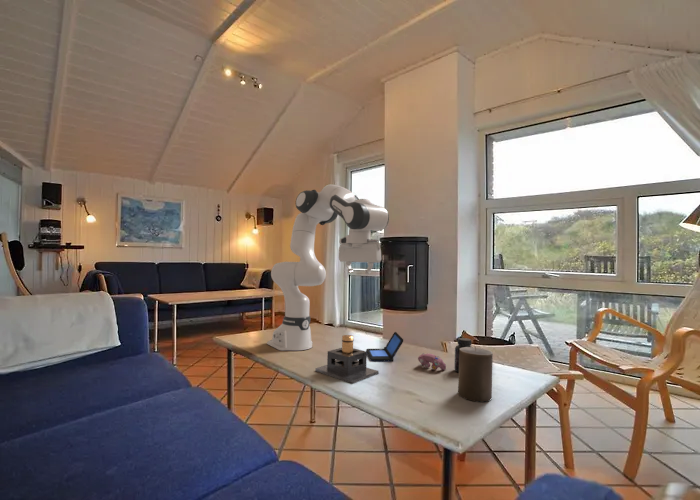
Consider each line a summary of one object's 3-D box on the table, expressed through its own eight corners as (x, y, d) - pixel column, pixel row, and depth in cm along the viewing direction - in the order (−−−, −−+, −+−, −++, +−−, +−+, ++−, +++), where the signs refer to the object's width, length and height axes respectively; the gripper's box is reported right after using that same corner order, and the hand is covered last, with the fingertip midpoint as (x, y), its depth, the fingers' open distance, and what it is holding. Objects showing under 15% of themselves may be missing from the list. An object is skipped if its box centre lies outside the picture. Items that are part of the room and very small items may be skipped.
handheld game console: (365, 351, 153) (366, 331, 154) (395, 351, 155) (395, 331, 155) (370, 362, 138) (371, 339, 138) (403, 362, 139) (404, 339, 139)
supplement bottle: (475, 375, 124) (475, 341, 124) (455, 373, 125) (455, 340, 126) (472, 369, 131) (472, 337, 131) (453, 367, 132) (454, 336, 133)
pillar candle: (474, 404, 99) (475, 351, 99) (451, 391, 108) (452, 343, 108) (499, 399, 103) (500, 349, 103) (475, 388, 112) (476, 341, 112)
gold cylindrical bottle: (338, 369, 124) (339, 336, 124) (346, 367, 127) (347, 334, 127) (347, 372, 121) (348, 337, 121) (355, 369, 124) (355, 336, 125)
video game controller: (419, 370, 134) (415, 355, 131) (424, 362, 137) (420, 348, 135) (442, 376, 127) (439, 360, 125) (447, 368, 130) (444, 353, 128)
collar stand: (315, 371, 125) (315, 350, 125) (341, 362, 135) (342, 343, 135) (352, 383, 113) (353, 360, 113) (378, 373, 123) (378, 352, 124)
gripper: (385, 239, 136) (384, 274, 136) (346, 240, 150) (345, 272, 149) (375, 238, 131) (374, 274, 131) (336, 239, 145) (335, 272, 144)
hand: (359, 273), depth 140 cm, fingers open, 8 cm apart
